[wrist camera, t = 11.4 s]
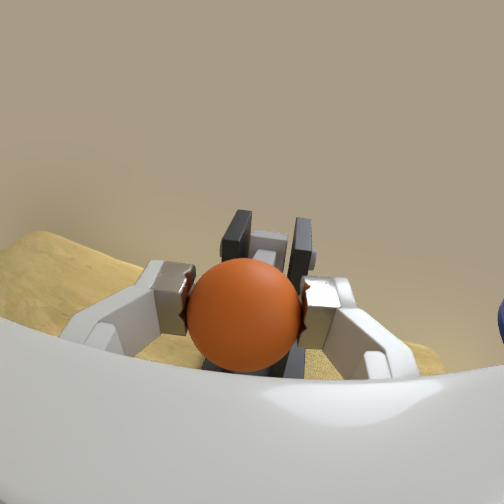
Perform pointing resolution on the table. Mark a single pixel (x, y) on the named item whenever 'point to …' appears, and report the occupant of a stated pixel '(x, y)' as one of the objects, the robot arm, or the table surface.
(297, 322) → the lever
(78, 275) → the table surface
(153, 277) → the robot arm
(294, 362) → the switch base
